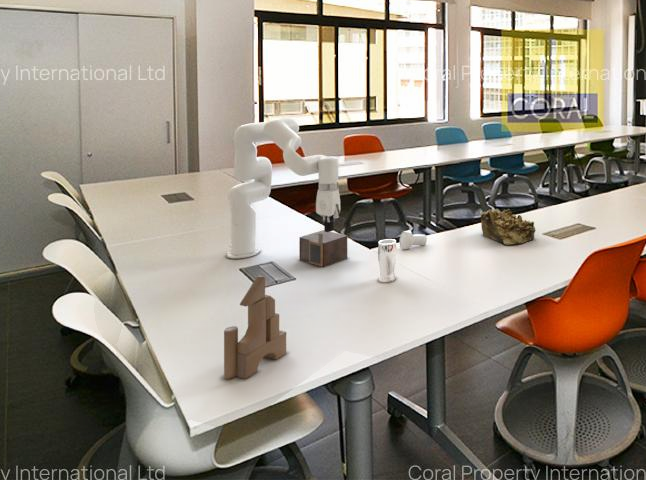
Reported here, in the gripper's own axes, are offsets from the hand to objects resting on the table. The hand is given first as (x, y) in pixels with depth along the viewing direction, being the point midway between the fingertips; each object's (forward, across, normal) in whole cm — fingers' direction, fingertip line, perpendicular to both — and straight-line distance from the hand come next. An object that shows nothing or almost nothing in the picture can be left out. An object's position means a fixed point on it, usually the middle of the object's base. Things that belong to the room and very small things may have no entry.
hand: (329, 231), depth 219 cm
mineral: (+17, +38, +74) cm, 85 cm away
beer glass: (+16, +28, +5) cm, 33 cm away
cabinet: (+16, -12, +7) cm, 21 cm away
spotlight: (+16, +10, +38) cm, 42 cm away
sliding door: (+15, -8, 0) cm, 18 cm away
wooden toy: (+17, +44, -57) cm, 74 cm away
